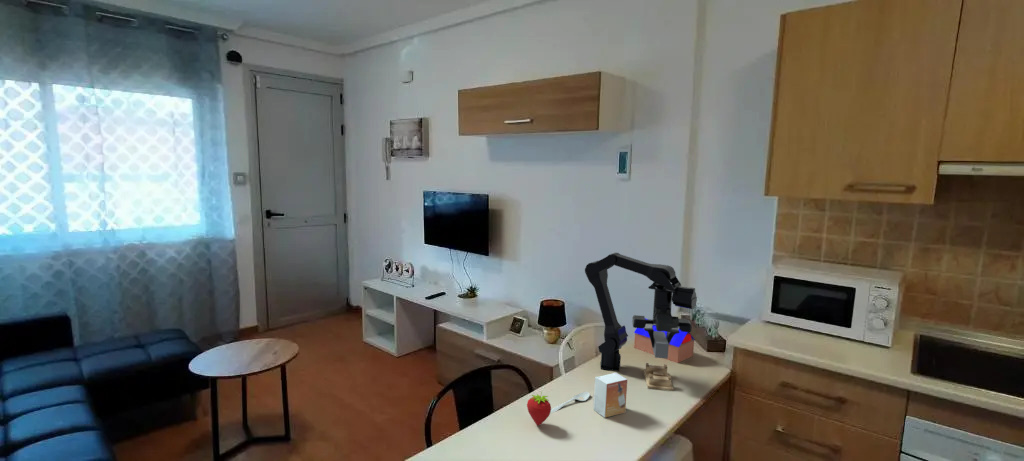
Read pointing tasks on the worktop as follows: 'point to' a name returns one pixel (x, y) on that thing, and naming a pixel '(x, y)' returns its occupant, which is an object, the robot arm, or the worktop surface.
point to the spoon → (584, 395)
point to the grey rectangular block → (660, 345)
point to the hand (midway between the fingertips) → (659, 347)
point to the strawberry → (539, 408)
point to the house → (678, 345)
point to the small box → (610, 394)
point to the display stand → (657, 377)
